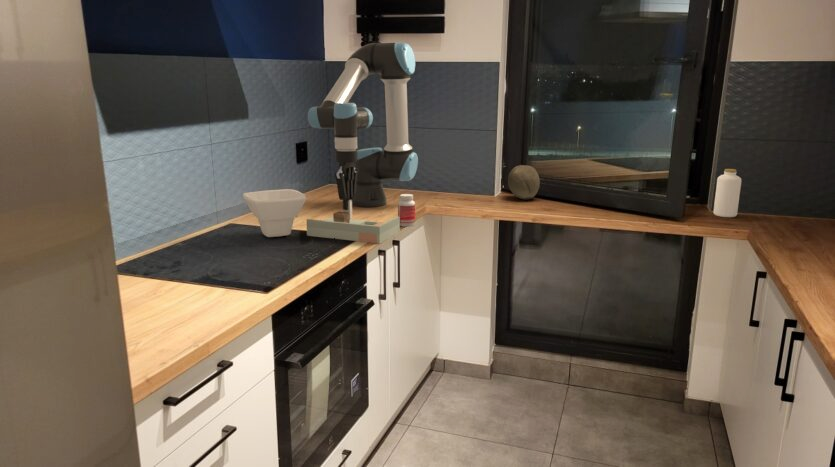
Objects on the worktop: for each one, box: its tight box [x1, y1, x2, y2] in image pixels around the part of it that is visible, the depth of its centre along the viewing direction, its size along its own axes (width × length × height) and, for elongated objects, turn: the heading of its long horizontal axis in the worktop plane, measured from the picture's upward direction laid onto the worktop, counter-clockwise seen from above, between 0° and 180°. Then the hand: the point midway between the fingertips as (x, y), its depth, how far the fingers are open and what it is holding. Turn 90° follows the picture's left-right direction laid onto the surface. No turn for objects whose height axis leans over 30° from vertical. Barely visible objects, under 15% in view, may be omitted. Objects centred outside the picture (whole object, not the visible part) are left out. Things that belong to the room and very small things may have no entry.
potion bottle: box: [713, 168, 742, 218], centre depth 241 cm, size 8×8×18 cm
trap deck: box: [306, 216, 401, 244], centre depth 213 cm, size 16×27×6 cm, turn 68°
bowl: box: [242, 188, 307, 238], centre depth 209 cm, size 19×19×14 cm
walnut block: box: [332, 210, 350, 223], centre depth 213 cm, size 4×4×4 cm
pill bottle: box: [397, 193, 416, 228], centre depth 225 cm, size 6×6×11 cm
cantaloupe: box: [507, 164, 541, 201], centre depth 273 cm, size 14×14×15 cm
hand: (347, 218), depth 216 cm, fingers closed
